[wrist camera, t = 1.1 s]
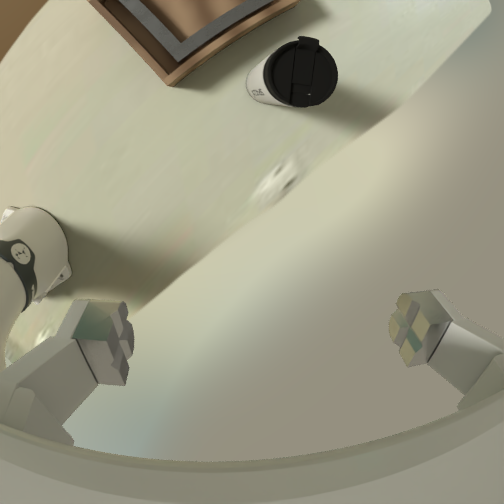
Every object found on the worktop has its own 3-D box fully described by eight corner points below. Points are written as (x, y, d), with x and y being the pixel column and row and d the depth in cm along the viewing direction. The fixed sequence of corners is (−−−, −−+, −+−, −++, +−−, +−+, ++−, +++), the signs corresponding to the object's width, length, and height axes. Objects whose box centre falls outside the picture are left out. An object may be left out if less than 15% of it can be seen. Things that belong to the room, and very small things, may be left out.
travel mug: (290, 64, 37) (344, 44, 20) (286, 106, 40) (336, 114, 23) (247, 59, 36) (272, 29, 19) (243, 101, 39) (264, 103, 22)
